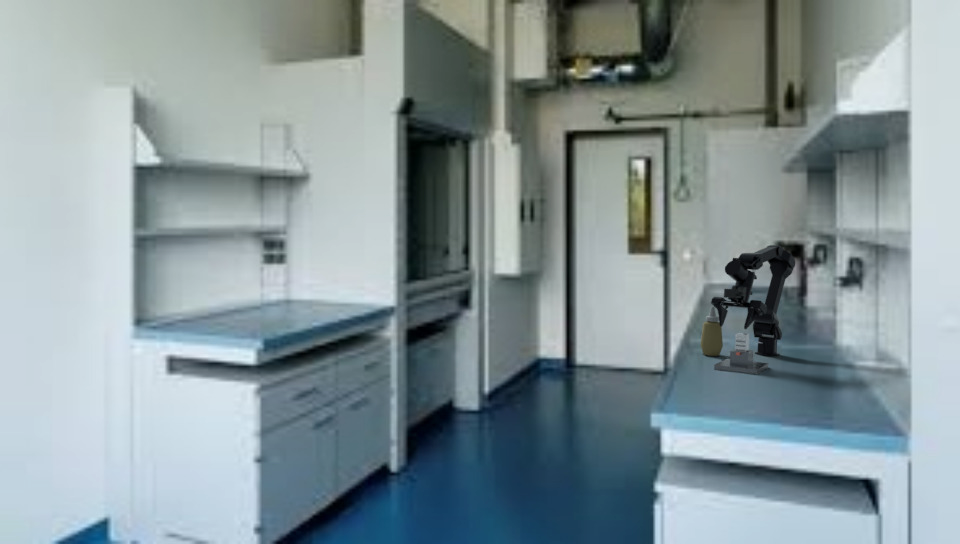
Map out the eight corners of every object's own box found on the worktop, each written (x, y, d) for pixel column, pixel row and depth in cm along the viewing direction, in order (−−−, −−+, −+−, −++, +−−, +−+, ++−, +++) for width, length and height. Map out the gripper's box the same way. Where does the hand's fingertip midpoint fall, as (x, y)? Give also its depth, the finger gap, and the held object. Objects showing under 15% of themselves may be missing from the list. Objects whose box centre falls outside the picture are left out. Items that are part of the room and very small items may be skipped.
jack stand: (726, 362, 265) (727, 346, 264) (768, 367, 257) (768, 350, 256) (714, 369, 253) (714, 351, 253) (756, 374, 245) (757, 356, 245)
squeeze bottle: (725, 357, 276) (726, 308, 275) (703, 356, 276) (704, 308, 275) (718, 353, 284) (720, 305, 283) (697, 352, 284) (698, 305, 283)
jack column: (737, 362, 257) (738, 332, 257) (748, 363, 255) (749, 333, 255) (734, 363, 254) (735, 334, 254) (745, 364, 252) (746, 335, 252)
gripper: (709, 276, 269) (698, 316, 265) (758, 279, 255) (747, 322, 251) (723, 287, 276) (712, 327, 272) (772, 291, 262) (761, 333, 258)
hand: (732, 327), depth 263 cm, fingers open, 9 cm apart
